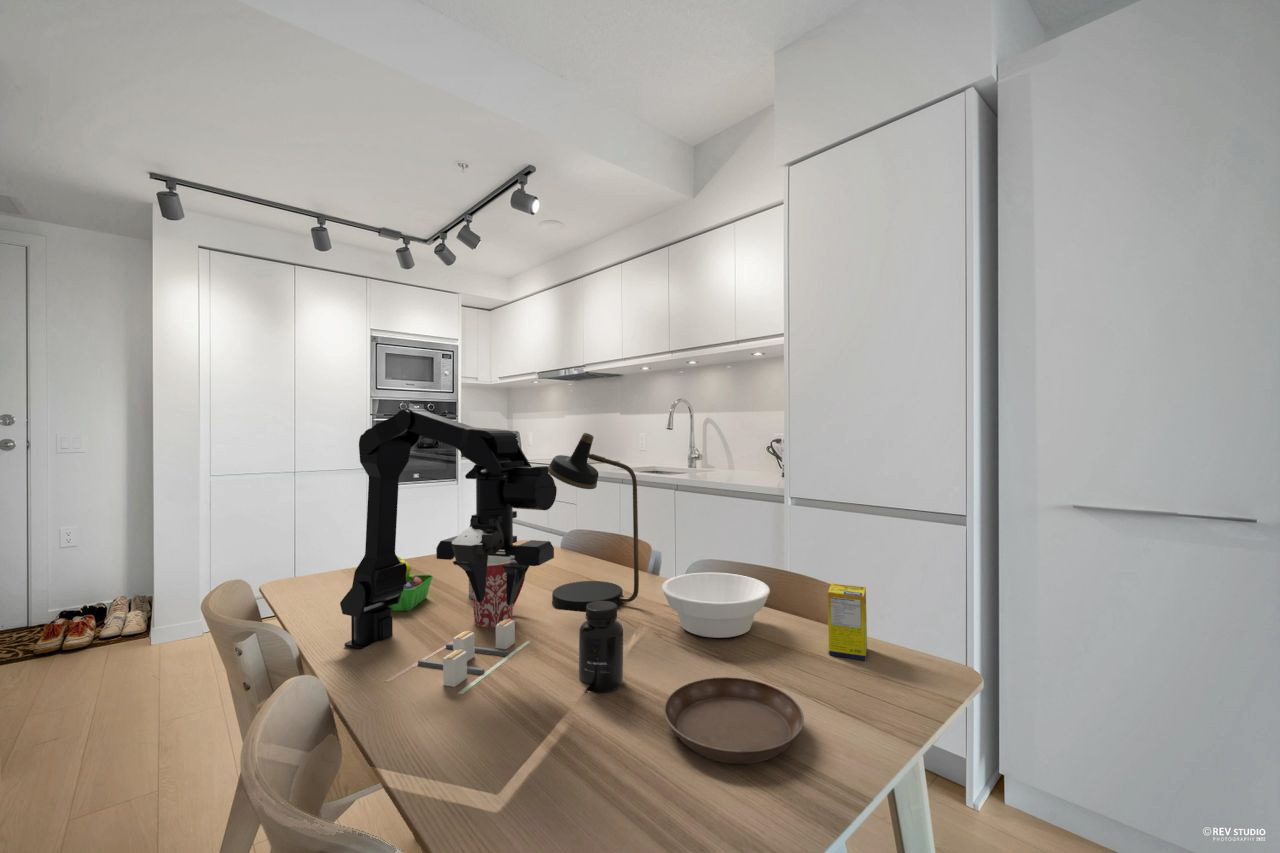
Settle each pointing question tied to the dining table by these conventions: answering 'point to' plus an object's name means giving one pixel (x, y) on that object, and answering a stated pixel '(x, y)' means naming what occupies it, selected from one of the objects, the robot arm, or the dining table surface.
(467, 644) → the block
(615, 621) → the supplement bottle
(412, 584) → the fruit basket
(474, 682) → the panel
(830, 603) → the supplement box
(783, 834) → the dining table surface
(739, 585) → the bowl
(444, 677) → the block
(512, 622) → the block
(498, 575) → the mug
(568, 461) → the lamp
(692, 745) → the plant saucer
